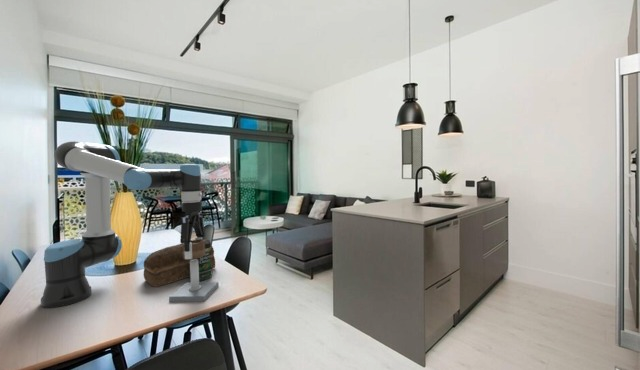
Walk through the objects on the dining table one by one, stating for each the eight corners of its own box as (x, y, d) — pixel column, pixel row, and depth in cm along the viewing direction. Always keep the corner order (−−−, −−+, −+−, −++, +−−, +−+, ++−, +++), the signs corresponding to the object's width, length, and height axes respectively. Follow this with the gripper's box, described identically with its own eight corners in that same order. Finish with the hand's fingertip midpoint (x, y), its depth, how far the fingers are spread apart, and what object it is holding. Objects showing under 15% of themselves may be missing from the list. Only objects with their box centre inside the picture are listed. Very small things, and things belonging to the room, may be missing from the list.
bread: (140, 281, 126) (138, 248, 125) (204, 263, 151) (203, 235, 150) (152, 289, 117) (151, 254, 116) (219, 268, 142) (218, 239, 141)
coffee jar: (195, 283, 122) (193, 243, 121) (187, 279, 127) (185, 241, 126) (215, 277, 129) (213, 239, 129) (206, 273, 134) (205, 237, 134)
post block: (169, 301, 105) (167, 266, 105) (187, 286, 119) (186, 255, 119) (204, 301, 105) (202, 266, 104) (218, 286, 119) (217, 255, 118)
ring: (178, 259, 107) (178, 244, 107) (189, 253, 116) (188, 239, 115) (199, 258, 107) (198, 244, 107) (208, 252, 116) (208, 239, 115)
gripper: (187, 204, 100) (190, 263, 101) (211, 198, 121) (213, 248, 122) (167, 204, 100) (170, 264, 101) (195, 199, 121) (197, 248, 122)
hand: (194, 255), depth 111 cm, fingers closed on ring, 8 cm apart
